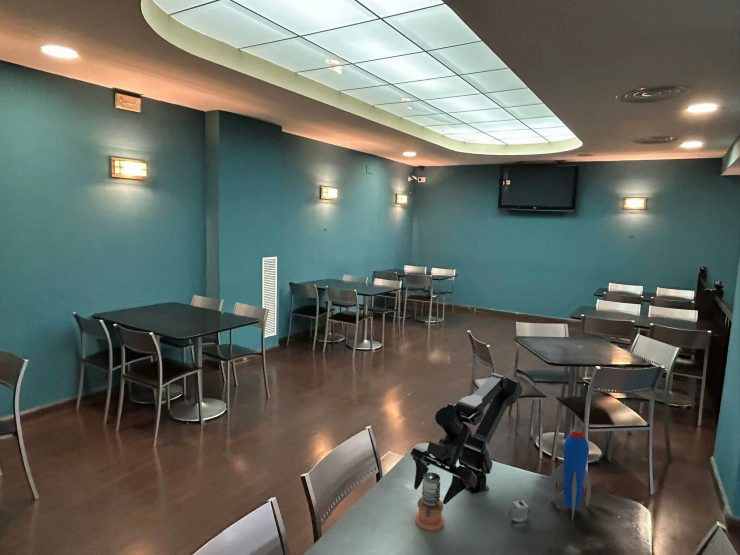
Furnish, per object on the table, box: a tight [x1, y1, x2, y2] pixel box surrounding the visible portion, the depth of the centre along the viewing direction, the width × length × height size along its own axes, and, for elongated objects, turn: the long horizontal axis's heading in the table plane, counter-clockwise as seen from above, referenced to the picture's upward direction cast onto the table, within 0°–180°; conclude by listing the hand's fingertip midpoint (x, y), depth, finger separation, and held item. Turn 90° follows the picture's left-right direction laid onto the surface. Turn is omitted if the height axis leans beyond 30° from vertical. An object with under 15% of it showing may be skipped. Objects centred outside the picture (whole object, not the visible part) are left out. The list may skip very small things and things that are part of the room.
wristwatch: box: [507, 500, 532, 523], centre depth 122 cm, size 6×3×5 cm, turn 101°
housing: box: [415, 497, 445, 532], centre depth 121 cm, size 8×8×5 cm
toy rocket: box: [549, 424, 592, 522], centre depth 125 cm, size 11×10×25 cm
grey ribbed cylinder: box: [421, 471, 441, 508], centre depth 120 cm, size 5×5×8 cm
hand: (429, 496), depth 120 cm, fingers open, 9 cm apart
